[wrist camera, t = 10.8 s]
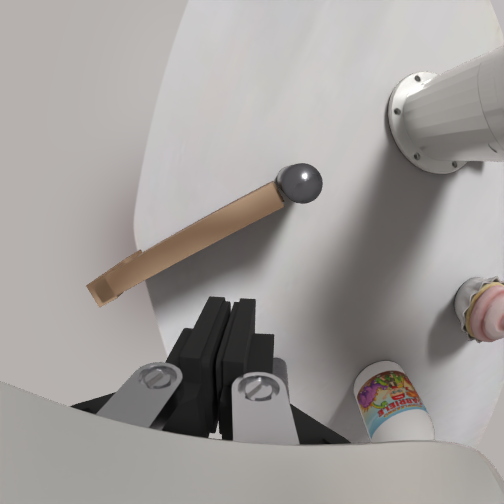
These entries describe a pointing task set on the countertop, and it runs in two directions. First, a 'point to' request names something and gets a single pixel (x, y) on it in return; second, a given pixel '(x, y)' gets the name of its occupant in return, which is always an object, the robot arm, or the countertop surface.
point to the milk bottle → (391, 405)
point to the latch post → (281, 372)
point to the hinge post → (300, 182)
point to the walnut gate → (186, 243)
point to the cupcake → (481, 309)
